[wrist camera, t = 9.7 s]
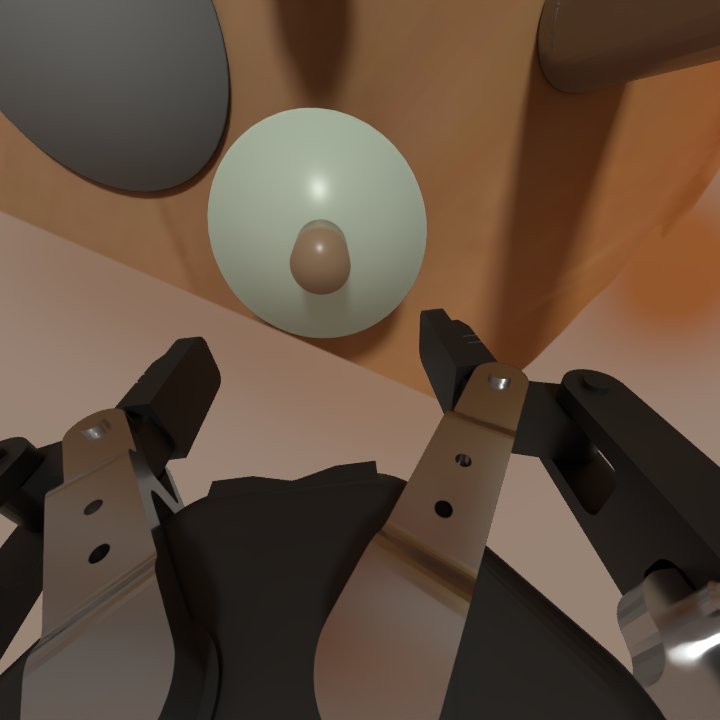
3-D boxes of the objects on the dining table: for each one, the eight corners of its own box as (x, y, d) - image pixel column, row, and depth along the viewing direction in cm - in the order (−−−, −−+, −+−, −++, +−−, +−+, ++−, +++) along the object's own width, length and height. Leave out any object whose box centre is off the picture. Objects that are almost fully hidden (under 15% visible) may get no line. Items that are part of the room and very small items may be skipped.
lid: (428, 96, 20) (460, 78, 15) (420, 322, 30) (438, 355, 25) (171, 123, 19) (119, 113, 15) (250, 342, 29) (234, 381, 24)
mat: (164, -203, 17) (160, -213, 17) (258, 179, 28) (256, 180, 28) (-175, -177, 17) (-190, -187, 16) (54, 201, 28) (49, 202, 27)
